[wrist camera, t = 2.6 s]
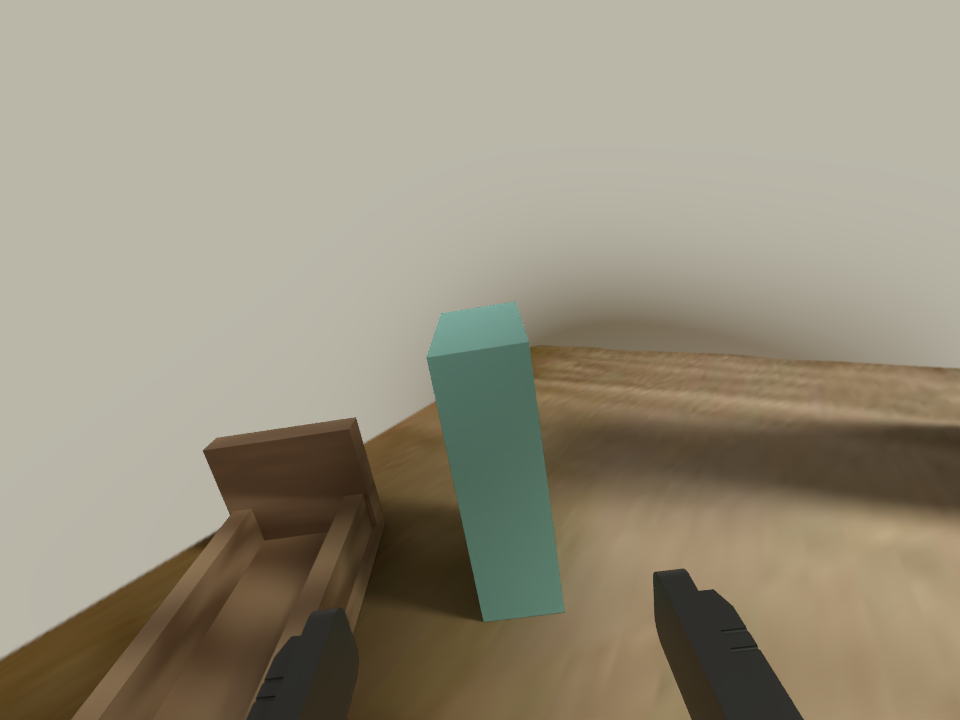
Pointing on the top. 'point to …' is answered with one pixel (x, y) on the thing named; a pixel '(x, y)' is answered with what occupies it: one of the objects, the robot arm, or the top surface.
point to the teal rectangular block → (497, 459)
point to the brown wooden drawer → (254, 575)
